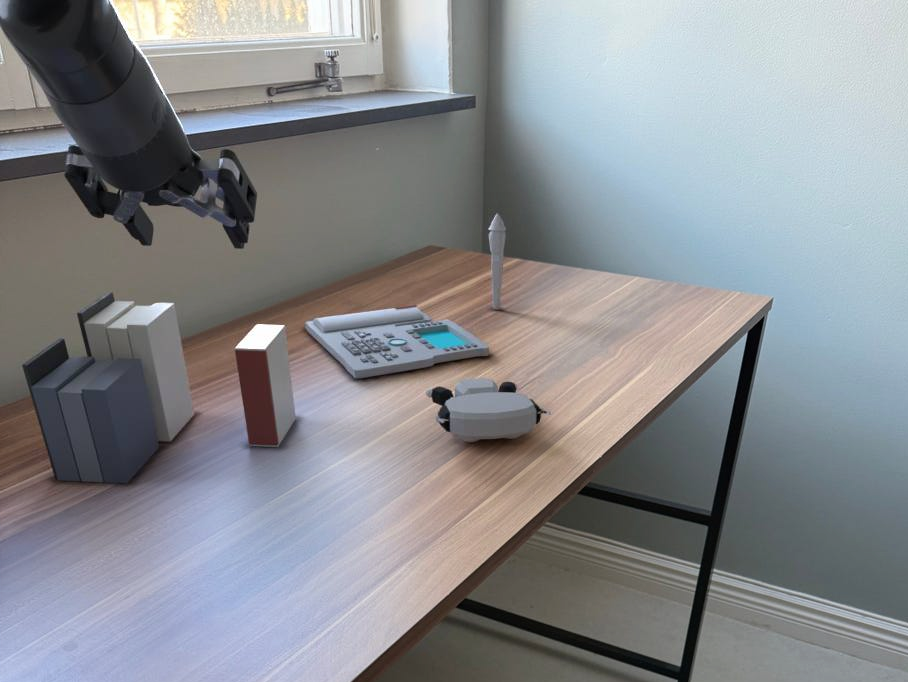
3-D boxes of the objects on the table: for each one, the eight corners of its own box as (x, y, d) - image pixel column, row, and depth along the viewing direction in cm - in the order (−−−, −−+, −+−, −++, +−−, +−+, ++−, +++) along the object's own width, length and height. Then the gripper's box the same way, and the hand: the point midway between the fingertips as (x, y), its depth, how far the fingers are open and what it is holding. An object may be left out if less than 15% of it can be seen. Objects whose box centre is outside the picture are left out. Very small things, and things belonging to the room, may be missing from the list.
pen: (501, 312, 143) (503, 215, 134) (485, 310, 143) (486, 214, 135) (506, 308, 145) (508, 212, 136) (490, 306, 145) (491, 210, 137)
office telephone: (302, 312, 134) (428, 296, 141) (304, 330, 136) (428, 313, 142) (354, 360, 117) (494, 339, 124) (355, 380, 118) (494, 358, 125)
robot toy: (421, 413, 112) (443, 456, 100) (419, 376, 110) (442, 415, 97) (518, 406, 114) (551, 447, 102) (519, 369, 112) (553, 407, 99)
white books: (107, 439, 103) (76, 313, 95) (135, 411, 110) (108, 291, 101) (170, 442, 103) (144, 315, 95) (194, 414, 109) (172, 293, 101)
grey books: (52, 480, 95) (19, 366, 88) (89, 444, 102) (61, 336, 95) (127, 483, 94) (99, 369, 87) (159, 447, 102) (136, 339, 95)
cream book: (249, 446, 102) (234, 348, 96) (269, 417, 109) (256, 324, 102) (277, 447, 102) (264, 349, 95) (296, 419, 108) (285, 325, 102)
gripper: (215, 63, 67) (276, 202, 83) (27, 59, 68) (123, 198, 84) (203, 156, 66) (267, 279, 82) (12, 151, 66) (112, 274, 82)
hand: (194, 238), depth 83 cm, fingers open, 8 cm apart
